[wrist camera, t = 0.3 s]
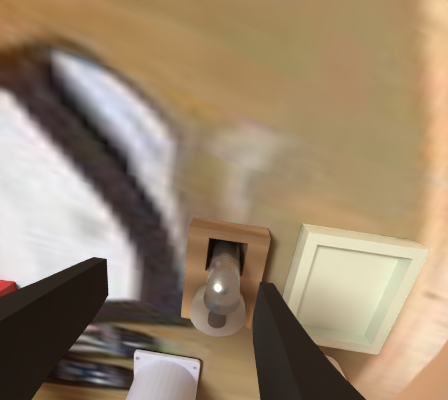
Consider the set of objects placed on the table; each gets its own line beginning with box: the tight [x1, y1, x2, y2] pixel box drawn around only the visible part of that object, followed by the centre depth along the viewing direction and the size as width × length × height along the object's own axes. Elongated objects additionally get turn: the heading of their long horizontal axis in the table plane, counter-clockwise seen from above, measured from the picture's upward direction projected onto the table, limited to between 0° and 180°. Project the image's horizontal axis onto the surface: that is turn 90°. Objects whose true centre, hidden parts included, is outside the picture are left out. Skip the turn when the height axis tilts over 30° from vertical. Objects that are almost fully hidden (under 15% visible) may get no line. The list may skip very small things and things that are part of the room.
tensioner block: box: [181, 217, 271, 337], centre depth 19 cm, size 10×7×4 cm
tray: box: [282, 223, 430, 355], centre depth 20 cm, size 12×10×2 cm
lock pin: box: [203, 239, 240, 315], centre depth 17 cm, size 2×2×7 cm
